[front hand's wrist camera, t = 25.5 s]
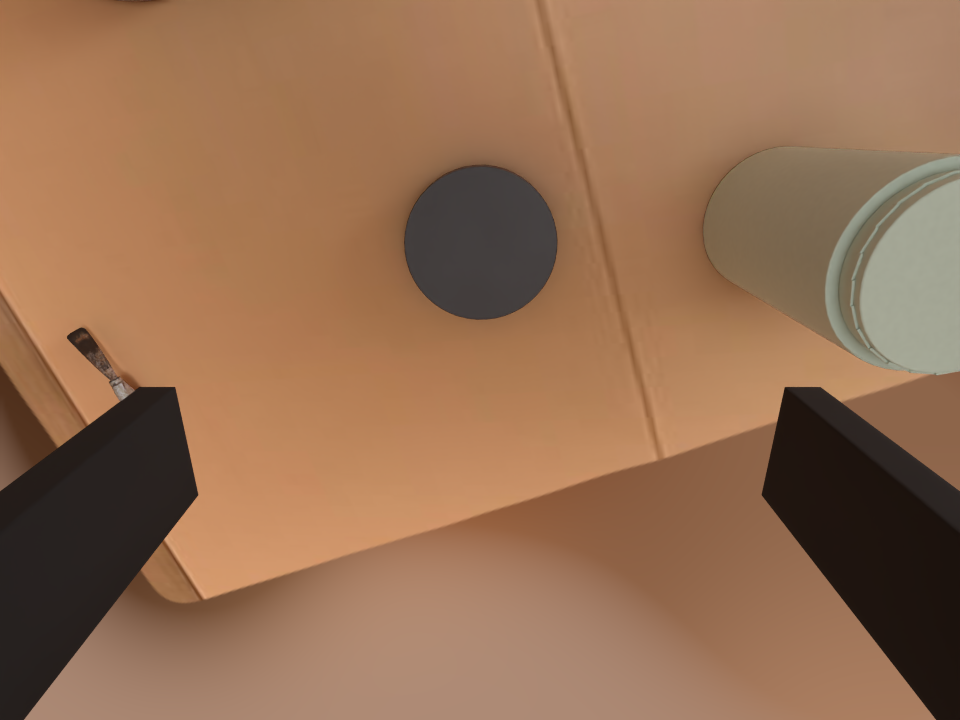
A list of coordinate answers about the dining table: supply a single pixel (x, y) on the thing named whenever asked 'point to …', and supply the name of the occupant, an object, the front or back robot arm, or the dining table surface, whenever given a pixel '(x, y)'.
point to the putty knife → (99, 361)
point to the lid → (480, 242)
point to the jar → (849, 248)
